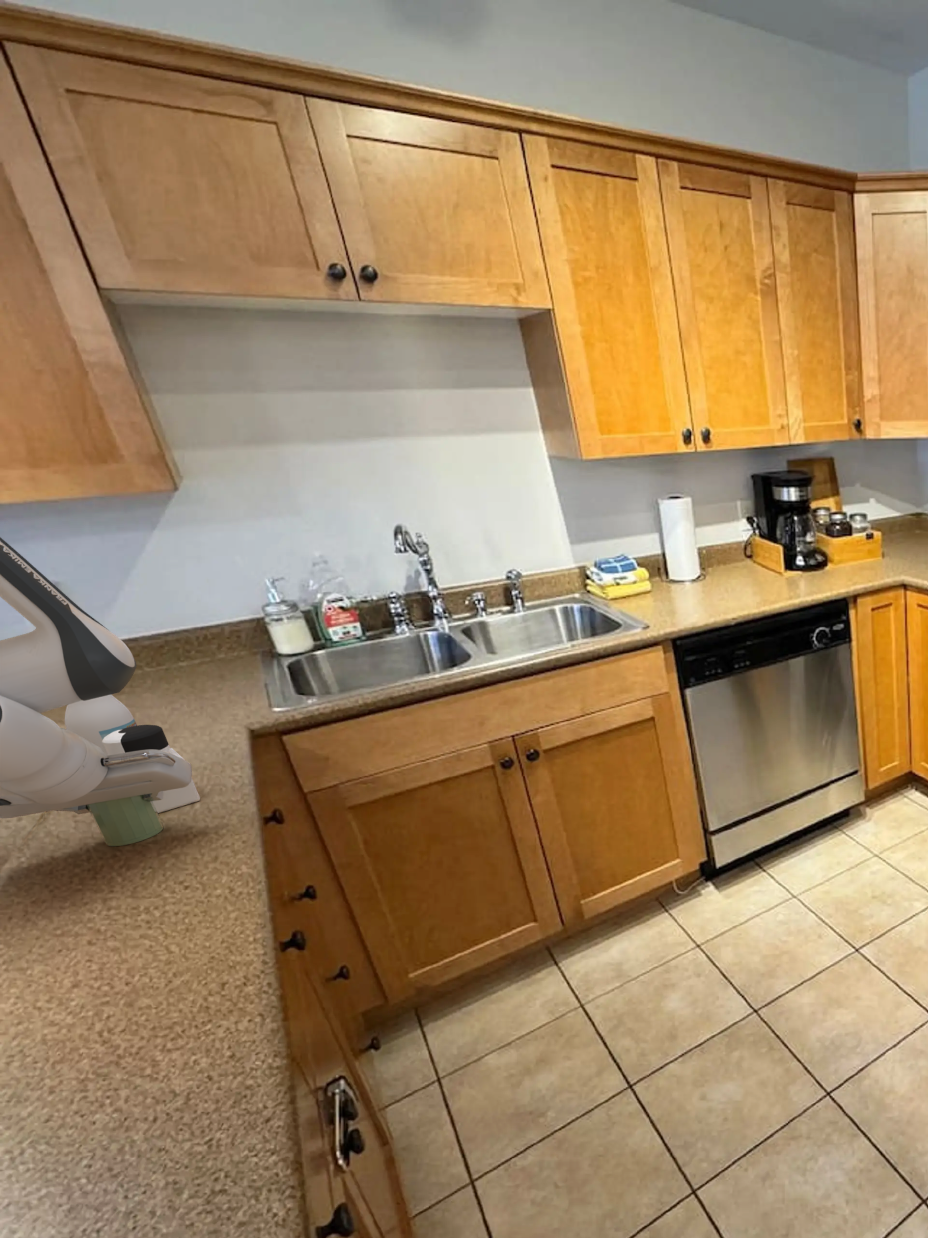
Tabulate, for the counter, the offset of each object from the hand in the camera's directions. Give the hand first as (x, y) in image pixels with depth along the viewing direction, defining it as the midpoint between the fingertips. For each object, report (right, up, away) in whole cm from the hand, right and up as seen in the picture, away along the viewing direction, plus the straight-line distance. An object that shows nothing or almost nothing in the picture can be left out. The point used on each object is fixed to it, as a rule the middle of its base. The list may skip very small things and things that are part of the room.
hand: (122, 802), depth 107 cm
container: (-5, -2, +10) cm, 12 cm away
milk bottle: (-19, 0, +18) cm, 26 cm away
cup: (0, -5, +1) cm, 5 cm away
